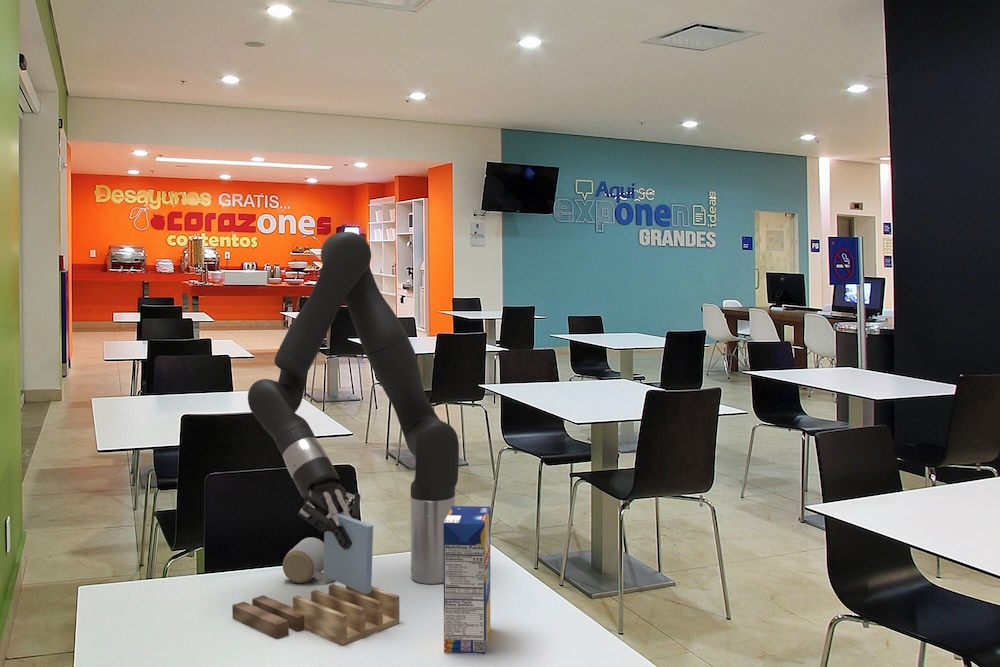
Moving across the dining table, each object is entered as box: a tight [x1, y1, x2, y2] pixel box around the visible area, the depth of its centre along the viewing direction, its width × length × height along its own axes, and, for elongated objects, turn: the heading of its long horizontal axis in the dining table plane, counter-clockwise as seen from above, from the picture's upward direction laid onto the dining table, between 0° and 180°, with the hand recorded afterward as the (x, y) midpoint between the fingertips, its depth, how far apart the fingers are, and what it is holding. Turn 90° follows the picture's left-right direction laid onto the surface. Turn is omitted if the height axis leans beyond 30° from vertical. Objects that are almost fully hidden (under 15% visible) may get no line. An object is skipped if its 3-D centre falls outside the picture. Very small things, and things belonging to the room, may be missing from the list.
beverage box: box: [443, 505, 491, 655], centre depth 148 cm, size 7×11×22 cm, turn 176°
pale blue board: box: [322, 513, 374, 594], centre depth 155 cm, size 12×1×12 cm, turn 49°
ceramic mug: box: [282, 536, 335, 584], centre depth 180 cm, size 11×8×8 cm
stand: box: [231, 595, 305, 640], centre depth 156 cm, size 14×7×2 cm, turn 49°
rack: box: [292, 583, 400, 647], centre depth 156 cm, size 14×13×5 cm
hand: (352, 545), depth 154 cm, fingers closed on pale blue board, 1 cm apart
